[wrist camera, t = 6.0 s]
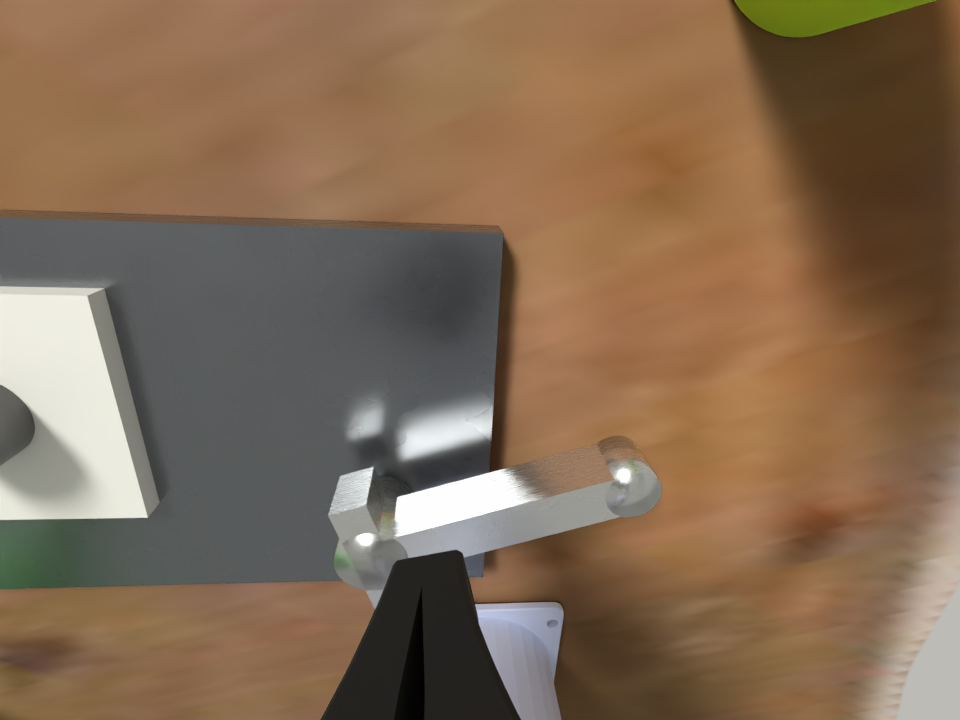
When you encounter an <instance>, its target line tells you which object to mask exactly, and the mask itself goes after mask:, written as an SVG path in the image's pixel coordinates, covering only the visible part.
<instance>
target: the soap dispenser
mask: <svg viewBox="0 0 960 720" xmlns="http://www.w3.org/2000/svg"><path fill="white" fill-rule="evenodd" d="M734 1H735V3H736V5H737V6H738V7H739V9H740V10H741V11H742V12H743V13H744V15H745V16H746V17H747V18H748V19H750V20H751V21H752V22H753V23H754V24H756V25H757V26H759V27H760V28H762V29H764V30H766V31H768V32H771V33H773V34H776V35H780V36H785V37H809V36H815V35H819V34H823V33H826V32H830V31H833V30H837V29H840V28H843V27H847V26H850V25H854V24H857V23H861V22H864V21H868V20H871V19H874V18H878V17H881V16H885V15H888V14H892V13H895V12H899V11H902V10H905V9H909V8H912V7H916V6H919V5H923V4H926V3H930V2H933V1H937V0H734Z"/></svg>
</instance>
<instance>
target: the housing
mask: <svg viewBox="0 0 960 720" xmlns="http://www.w3.org/2000/svg"><path fill="white" fill-rule="evenodd" d="M503 234H504V233H503V232H502V230H501V229H500V228H499V226H486V225H455V224H424V223H394V222H363V221H332V220H301V219H270V218H239V217H208V216H177V215H146V214H116V213H85V212H54V211H23V210H0V286H10V287H59V288H104V289H105V293H106V297H107V301H108V305H109V309H110V312H111V316H112V320H113V324H114V328H115V332H116V336H117V340H118V343H119V347H120V351H121V355H122V359H123V363H124V367H125V371H126V374H127V378H128V382H129V386H130V390H131V394H132V398H133V402H134V405H135V409H136V413H137V417H138V421H139V425H140V429H141V433H142V436H143V440H144V444H145V448H146V452H147V456H148V460H149V463H150V467H151V471H152V475H153V479H154V483H155V487H156V491H157V494H158V498H159V502H160V503H159V504H158V505H157V507H156V508H155V509H154V511H153V512H152V513H151V514H150V516H149V517H148V518H98V519H30V520H0V589H22V588H62V587H102V586H141V585H181V584H220V583H260V582H299V581H339V580H342V579H341V578H340V577H339V576H338V574H337V573H336V571H335V568H334V555H335V552H336V548H337V544H338V540H339V537H338V535H337V533H336V531H335V529H334V527H333V525H332V523H331V521H330V519H329V517H328V514H329V511H330V508H331V504H332V501H333V498H334V494H335V491H336V488H337V485H338V481H339V478H340V476H341V475H345V474H348V473H352V472H356V471H360V470H363V469H367V468H371V467H374V468H375V470H376V473H377V475H386V476H391V477H394V478H397V479H399V480H401V481H402V482H404V483H405V484H406V485H407V486H408V487H409V488H410V490H411V491H412V493H415V492H418V491H422V490H426V489H430V488H434V487H437V486H441V485H445V484H449V483H452V482H456V481H460V480H464V479H467V478H471V477H475V476H479V475H482V474H486V473H489V471H490V454H491V437H492V420H493V403H494V386H495V369H496V352H497V335H498V318H499V301H500V284H501V267H502V250H503ZM484 555H485V552H483V553H480V554H476V555H472V556H468V557H464V560H465V565H466V569H467V573H468V577H483V572H484Z"/></svg>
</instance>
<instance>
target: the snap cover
mask: <svg viewBox="0 0 960 720" xmlns="http://www.w3.org/2000/svg"><path fill="white" fill-rule="evenodd" d="M159 503H160V502H159V498H158V494H157V491H156V487H155V483H154V479H153V475H152V471H151V467H150V463H149V460H148V456H147V452H146V448H145V444H144V440H143V436H142V433H141V429H140V425H139V421H138V417H137V413H136V409H135V405H134V402H133V398H132V394H131V390H130V386H129V382H128V378H127V374H126V371H125V367H124V363H123V359H122V355H121V351H120V347H119V343H118V340H117V336H116V332H115V328H114V324H113V320H112V316H111V312H110V309H109V305H108V301H107V297H106V293H105V289H104V288H59V287H10V286H0V520H30V519H98V518H148V517H149V516H150V514H151V513H152V512H153V511H154V509H155V508H156V507H157V505H158V504H159Z"/></svg>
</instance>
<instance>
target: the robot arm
mask: <svg viewBox="0 0 960 720" xmlns="http://www.w3.org/2000/svg"><path fill="white" fill-rule="evenodd" d="M563 617H564V612H563V608H562V606H561V605H560V604H559V603H557V602H531V603H498V604H475V602H474V598H473V594H472V590H471V585H470V581H469V577H468V573H467V569H466V565H465V560H464V556H463V553H462V552H460V551H458V550H451V551H445V552H440V553H434V554H429V555H423V556H418V557H412V558H407V559H401V560H397V561H396V562H395V563H394V565H393V566H392V569H391V572H390V574H389V577H388V580H387V582H386V585H385V587H384V590H383V592H382V595H381V597H380V599H379V602H378V604H377V606H376V609H375V611H374V613H373V616H372V618H371V620H370V622H369V625H368V627H367V629H366V631H365V633H364V635H363V638H362V640H361V642H360V644H359V646H358V648H357V650H356V652H355V654H354V657H353V659H352V661H351V663H350V665H349V667H348V669H347V671H346V673H345V675H344V677H343V679H342V681H341V682H340V684H339V686H338V688H337V690H336V692H335V694H334V696H333V697H332V699H331V701H330V703H329V705H328V707H327V709H326V711H325V713H324V714H323V716H322V718H321V720H561V715H560V710H559V705H558V701H557V696H556V691H555V686H554V678H555V671H556V664H557V657H558V651H559V644H560V637H561V631H562V624H563Z"/></svg>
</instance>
